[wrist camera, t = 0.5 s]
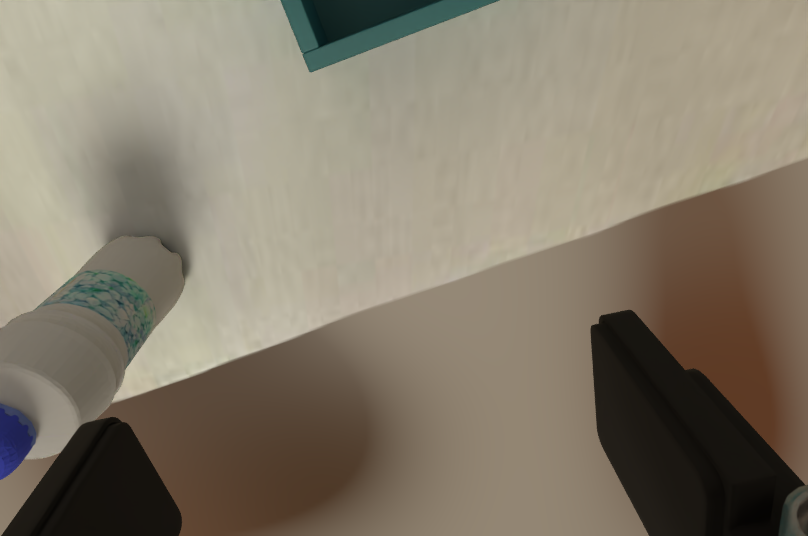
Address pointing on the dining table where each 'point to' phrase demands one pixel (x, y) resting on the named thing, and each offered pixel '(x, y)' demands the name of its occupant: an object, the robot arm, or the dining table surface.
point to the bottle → (80, 345)
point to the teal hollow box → (363, 24)
